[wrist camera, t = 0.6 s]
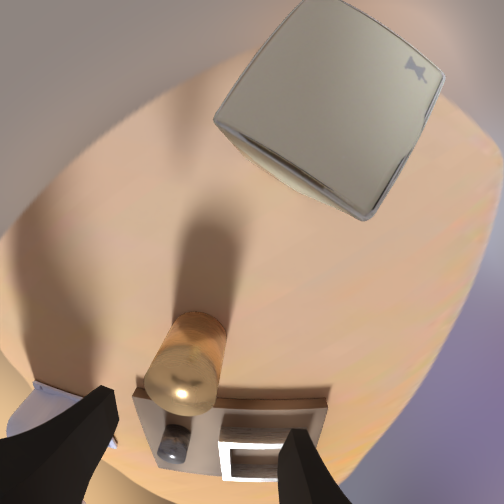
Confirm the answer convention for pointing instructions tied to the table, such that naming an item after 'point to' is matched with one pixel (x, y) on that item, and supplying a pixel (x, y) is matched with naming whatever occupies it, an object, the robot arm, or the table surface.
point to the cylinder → (188, 365)
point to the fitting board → (228, 435)
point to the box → (332, 105)
